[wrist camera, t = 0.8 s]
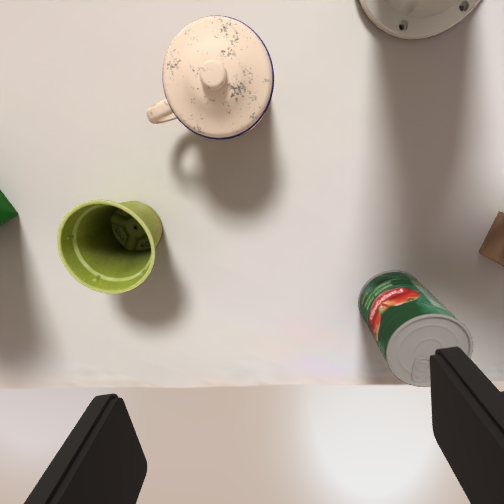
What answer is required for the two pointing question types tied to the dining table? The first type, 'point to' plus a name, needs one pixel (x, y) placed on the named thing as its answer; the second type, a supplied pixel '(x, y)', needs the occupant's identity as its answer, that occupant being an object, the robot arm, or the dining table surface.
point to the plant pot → (109, 244)
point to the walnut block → (495, 241)
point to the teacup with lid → (215, 79)
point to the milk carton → (6, 209)
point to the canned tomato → (409, 325)
